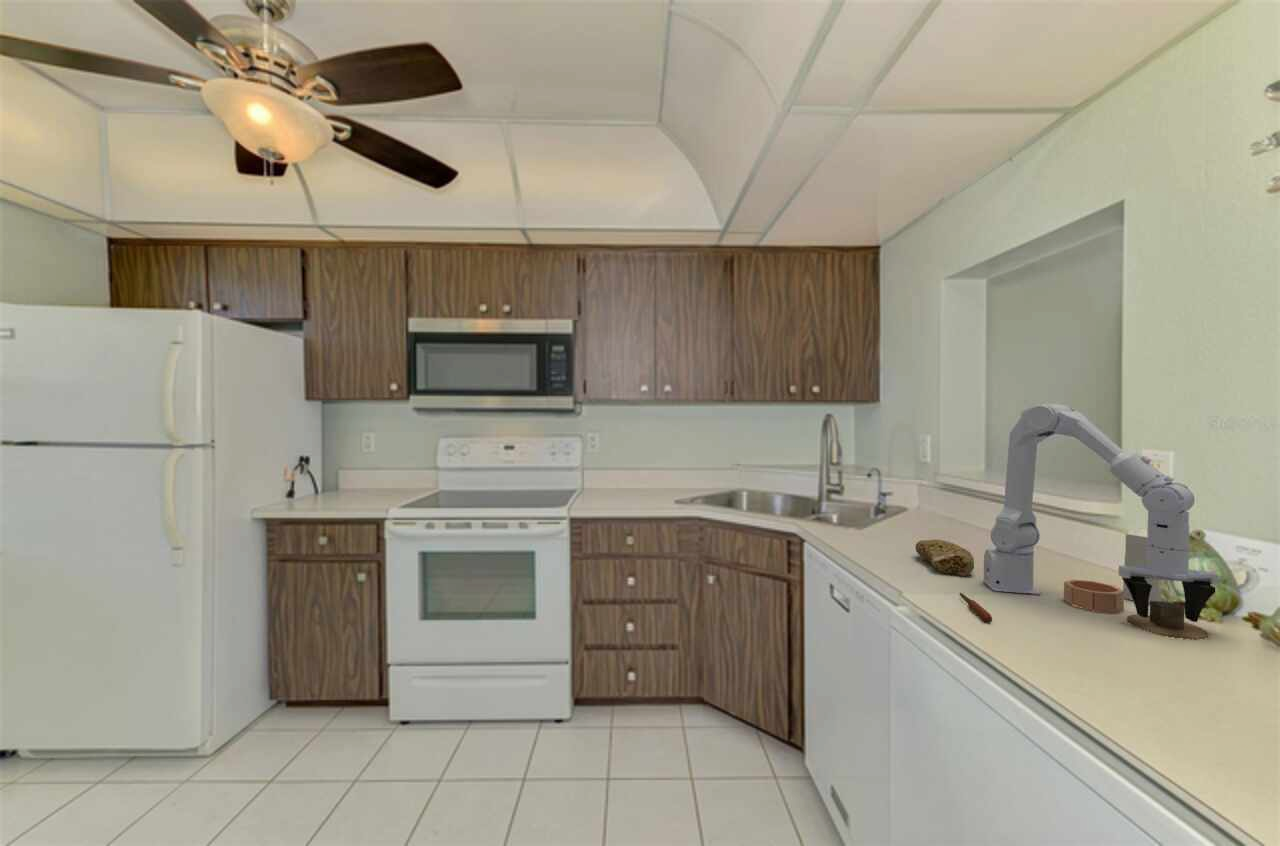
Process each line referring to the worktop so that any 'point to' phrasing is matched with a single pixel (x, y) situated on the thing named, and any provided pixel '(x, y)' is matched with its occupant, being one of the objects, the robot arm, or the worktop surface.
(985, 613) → the red handled screwdriver
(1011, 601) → the worktop surface
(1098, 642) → the worktop surface
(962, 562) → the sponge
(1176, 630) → the lid
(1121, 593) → the bowl
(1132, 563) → the skincare box
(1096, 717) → the worktop surface
